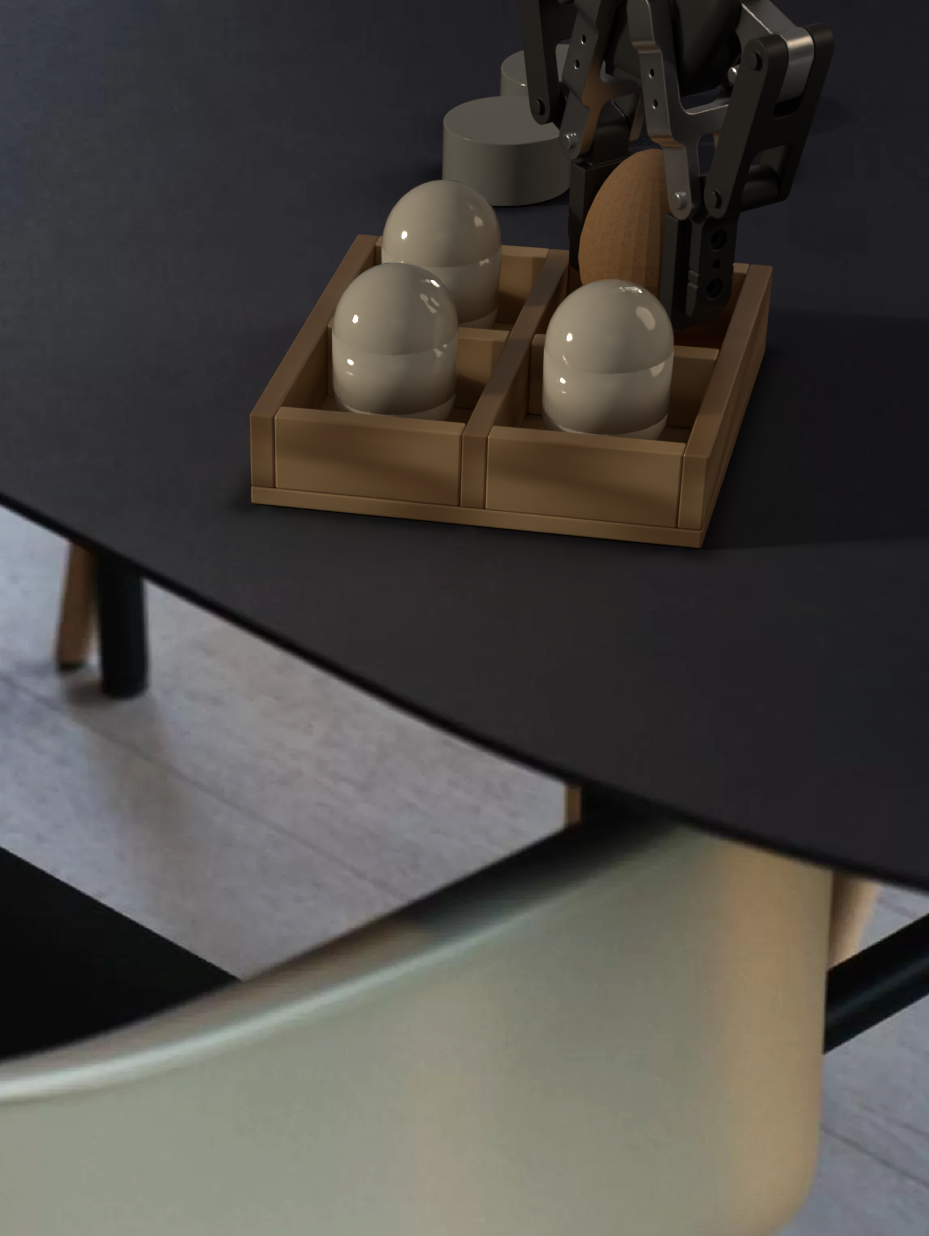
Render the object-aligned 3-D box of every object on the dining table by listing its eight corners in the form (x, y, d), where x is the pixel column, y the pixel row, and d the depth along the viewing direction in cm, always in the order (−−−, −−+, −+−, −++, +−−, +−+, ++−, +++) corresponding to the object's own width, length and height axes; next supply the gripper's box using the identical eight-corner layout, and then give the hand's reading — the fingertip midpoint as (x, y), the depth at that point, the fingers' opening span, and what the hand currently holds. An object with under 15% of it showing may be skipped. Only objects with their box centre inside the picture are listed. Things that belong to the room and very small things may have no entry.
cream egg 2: (467, 423, 96) (472, 246, 92) (440, 478, 93) (445, 298, 89) (348, 412, 97) (349, 237, 93) (319, 466, 94) (318, 288, 90)
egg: (627, 291, 99) (639, 115, 95) (736, 324, 97) (753, 145, 93) (547, 335, 97) (555, 156, 93) (657, 370, 95) (670, 189, 91)
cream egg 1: (508, 336, 101) (515, 165, 97) (484, 386, 98) (490, 212, 94) (395, 327, 102) (397, 157, 98) (368, 376, 99) (369, 203, 95)
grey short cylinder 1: (650, 123, 117) (654, 62, 115) (568, 159, 114) (571, 98, 112) (554, 94, 119) (557, 34, 118) (472, 128, 117) (474, 68, 115)
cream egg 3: (673, 442, 94) (688, 262, 90) (653, 499, 91) (667, 316, 87) (551, 430, 95) (560, 253, 91) (527, 486, 92) (535, 305, 88)
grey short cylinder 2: (560, 153, 115) (563, 91, 113) (581, 202, 111) (585, 139, 109) (433, 161, 115) (435, 100, 113) (451, 210, 111) (452, 148, 109)
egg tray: (764, 351, 100) (773, 265, 98) (701, 549, 90) (709, 456, 88) (357, 318, 104) (357, 233, 102) (251, 504, 93) (249, 413, 91)
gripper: (946, -236, 81) (874, 344, 93) (646, -336, 91) (613, 199, 102) (728, -188, 79) (681, 402, 90) (443, -296, 89) (432, 248, 100)
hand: (645, 291), depth 96 cm, fingers closed on egg, 4 cm apart
